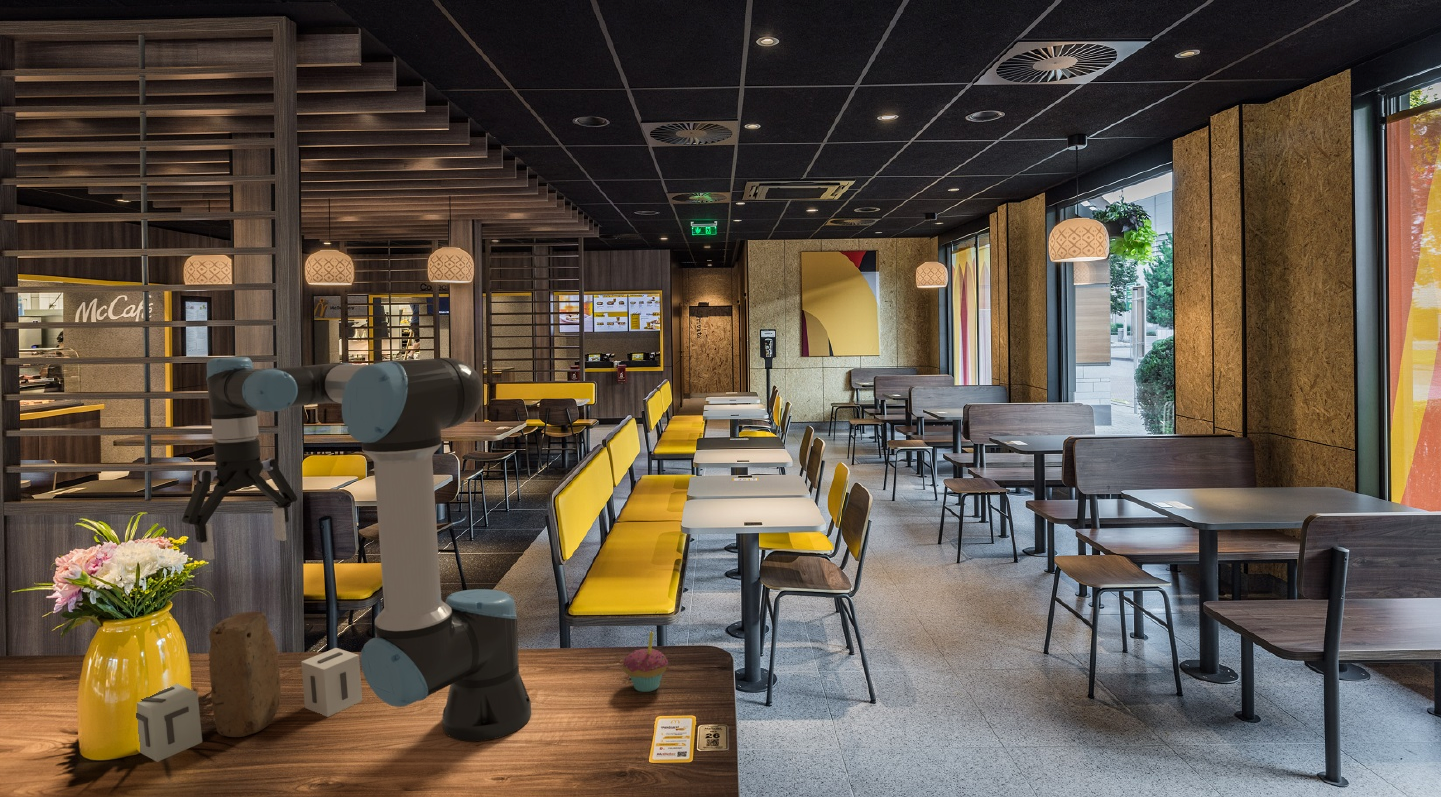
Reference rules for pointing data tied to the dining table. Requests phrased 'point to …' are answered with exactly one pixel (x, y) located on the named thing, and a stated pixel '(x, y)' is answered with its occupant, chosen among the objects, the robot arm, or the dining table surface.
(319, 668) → the numbered cube one
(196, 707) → the numbered cube seven
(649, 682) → the cupcake
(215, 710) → the block
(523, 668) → the dining table surface
